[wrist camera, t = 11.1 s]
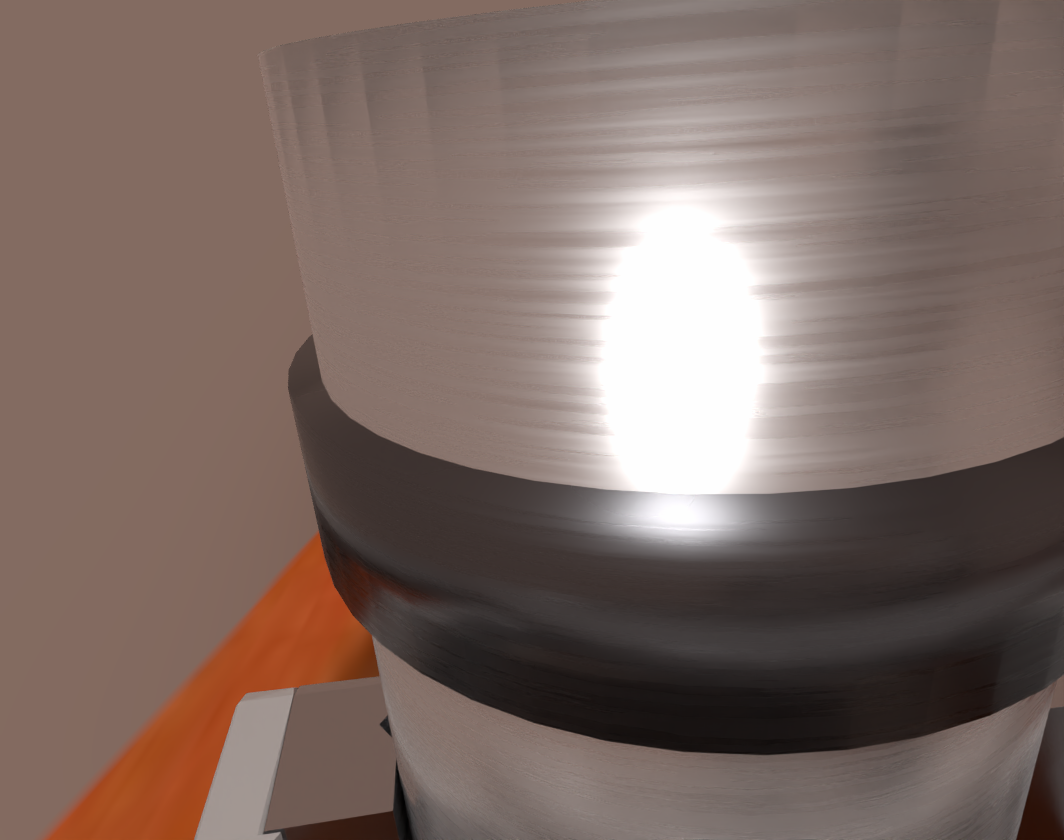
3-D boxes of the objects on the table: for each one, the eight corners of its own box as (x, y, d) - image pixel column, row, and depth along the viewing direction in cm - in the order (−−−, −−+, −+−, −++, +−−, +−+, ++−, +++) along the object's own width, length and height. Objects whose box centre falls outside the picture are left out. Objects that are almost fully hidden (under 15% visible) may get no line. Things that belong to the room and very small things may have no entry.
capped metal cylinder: (599, 924, 14) (547, 54, 8) (938, 1118, 11) (1220, -14, 5) (393, 1298, 10) (-2, 76, 4) (846, 1760, 7) (1637, -159, 1)
